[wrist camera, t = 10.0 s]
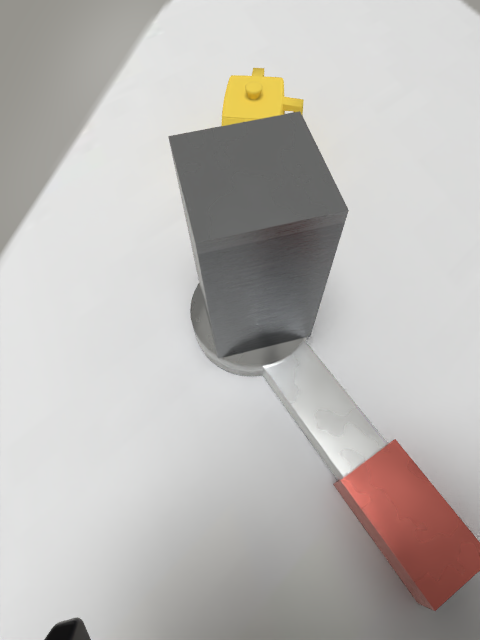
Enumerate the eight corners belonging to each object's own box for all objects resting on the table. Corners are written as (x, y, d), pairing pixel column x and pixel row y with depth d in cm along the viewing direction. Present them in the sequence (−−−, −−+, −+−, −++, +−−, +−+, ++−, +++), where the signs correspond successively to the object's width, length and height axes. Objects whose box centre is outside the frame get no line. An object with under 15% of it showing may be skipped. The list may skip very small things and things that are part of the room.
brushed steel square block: (310, 336, 22) (348, 210, 14) (218, 358, 22) (195, 243, 13) (282, 261, 25) (299, 111, 16) (198, 280, 24) (168, 136, 15)
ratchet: (497, 532, 20) (554, 533, 16) (387, 629, 18) (422, 655, 14) (265, 257, 27) (267, 215, 24) (174, 309, 26) (161, 271, 22)
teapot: (295, 192, 30) (303, 131, 25) (217, 187, 30) (211, 126, 26) (300, 119, 34) (308, 54, 29) (230, 116, 34) (227, 51, 29)
